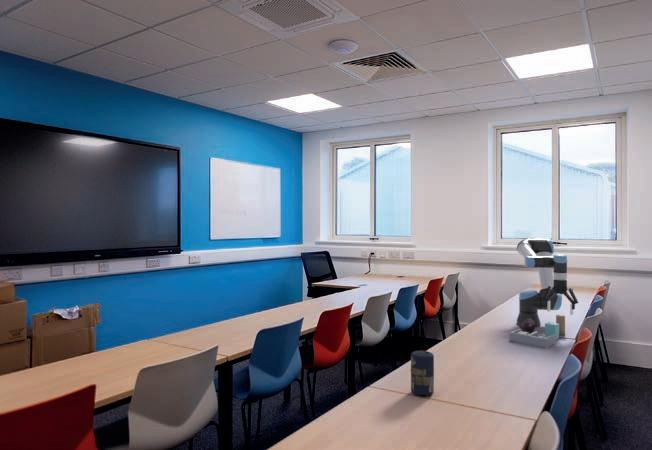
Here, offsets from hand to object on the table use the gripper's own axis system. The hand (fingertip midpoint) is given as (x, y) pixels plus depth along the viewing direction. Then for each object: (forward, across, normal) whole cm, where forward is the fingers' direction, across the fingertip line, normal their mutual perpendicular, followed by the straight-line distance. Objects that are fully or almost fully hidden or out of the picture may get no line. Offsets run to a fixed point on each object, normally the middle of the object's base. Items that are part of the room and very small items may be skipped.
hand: (560, 312), depth 286 cm
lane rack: (+13, -5, -30) cm, 33 cm away
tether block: (+14, 0, -7) cm, 15 cm away
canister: (+11, -3, -144) cm, 144 cm away
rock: (+14, -15, -10) cm, 23 cm away
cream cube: (+13, -10, -32) cm, 36 cm away
